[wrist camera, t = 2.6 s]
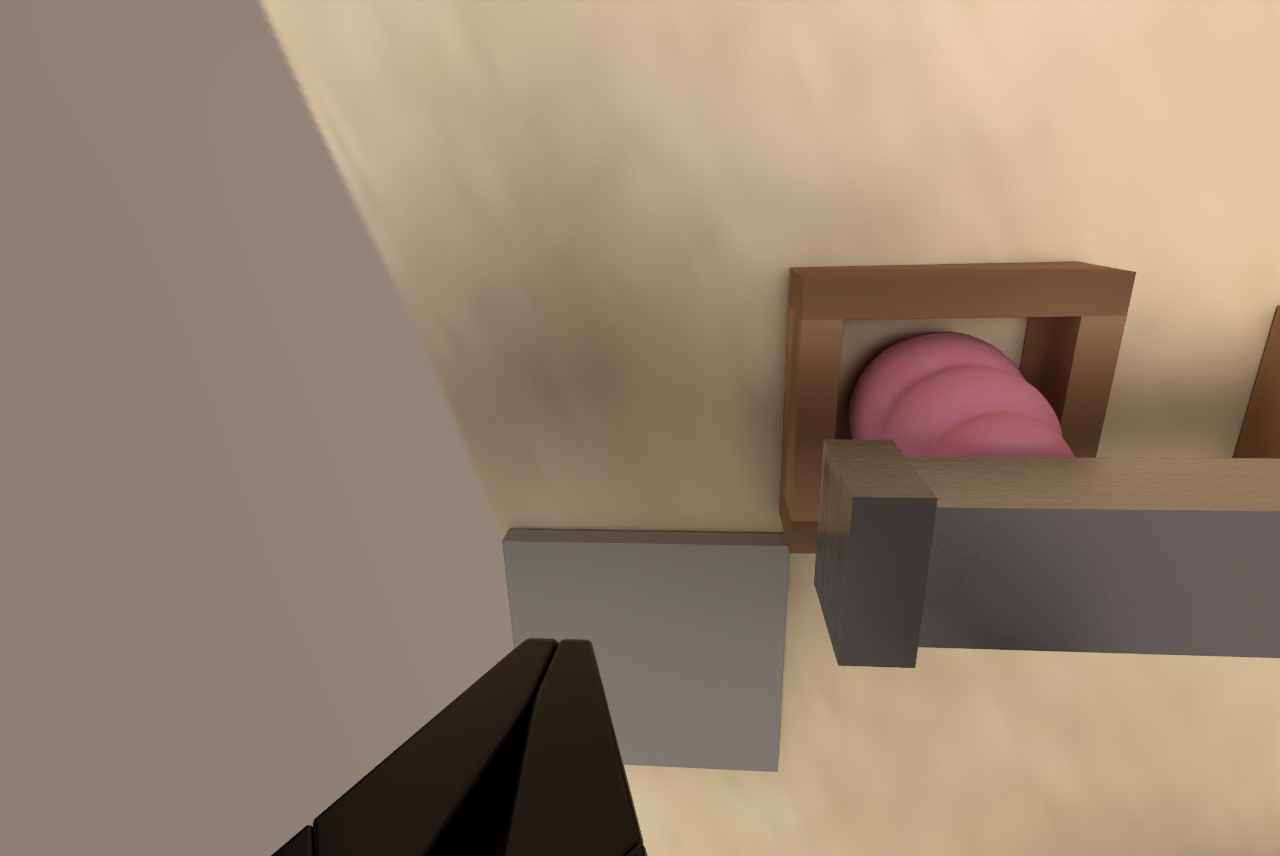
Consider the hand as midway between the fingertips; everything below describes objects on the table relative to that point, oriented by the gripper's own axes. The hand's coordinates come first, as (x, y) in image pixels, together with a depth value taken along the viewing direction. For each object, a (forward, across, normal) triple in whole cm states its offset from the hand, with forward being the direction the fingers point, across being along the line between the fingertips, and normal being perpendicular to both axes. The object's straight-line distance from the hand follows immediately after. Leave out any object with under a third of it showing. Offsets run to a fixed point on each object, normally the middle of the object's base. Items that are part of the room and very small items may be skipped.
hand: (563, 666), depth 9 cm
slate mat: (+12, 0, +9) cm, 15 cm away
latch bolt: (+4, -11, 0) cm, 12 cm away
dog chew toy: (+12, -8, 0) cm, 15 cm away
